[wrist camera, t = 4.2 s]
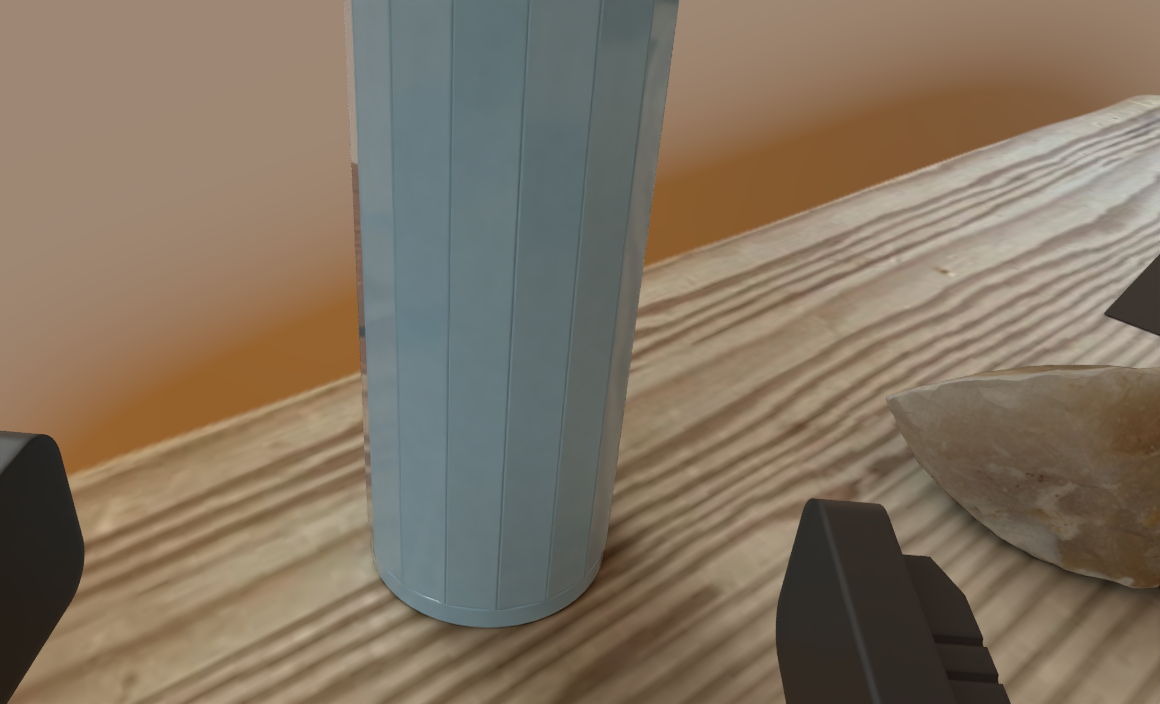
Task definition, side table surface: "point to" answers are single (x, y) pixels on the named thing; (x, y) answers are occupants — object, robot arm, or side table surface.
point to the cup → (499, 285)
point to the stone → (1050, 461)
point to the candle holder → (1141, 300)
